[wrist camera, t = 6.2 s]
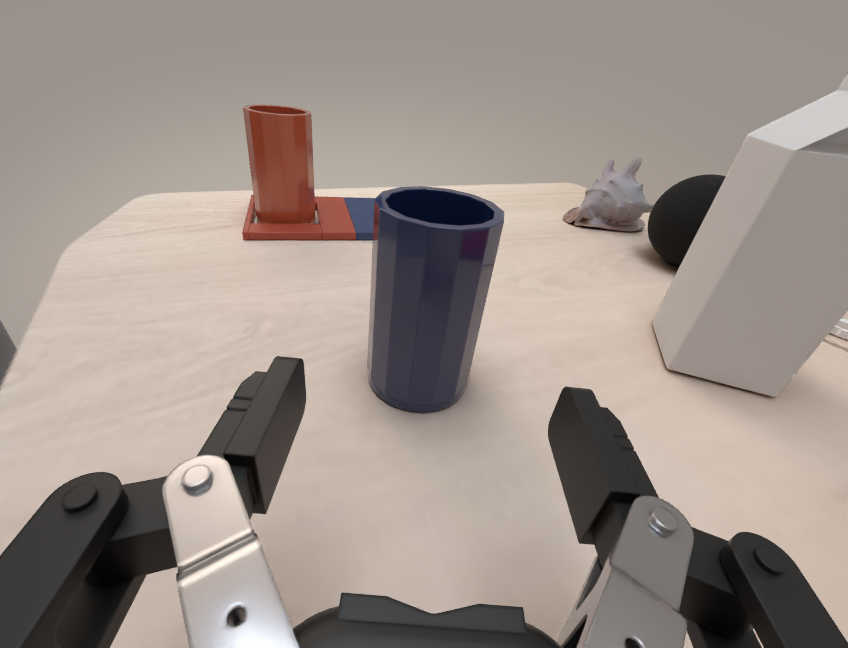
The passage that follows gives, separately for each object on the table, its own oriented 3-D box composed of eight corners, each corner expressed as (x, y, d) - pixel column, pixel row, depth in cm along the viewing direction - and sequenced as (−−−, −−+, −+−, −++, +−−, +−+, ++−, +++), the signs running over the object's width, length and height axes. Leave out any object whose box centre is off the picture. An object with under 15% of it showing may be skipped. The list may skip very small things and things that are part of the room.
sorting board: (243, 239, 39) (242, 232, 39) (252, 201, 49) (251, 194, 48) (453, 240, 46) (454, 233, 45) (425, 205, 55) (425, 199, 54)
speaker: (651, 240, 53) (687, 161, 48) (736, 270, 48) (787, 184, 42) (620, 256, 47) (657, 167, 42) (712, 292, 41) (769, 195, 36)
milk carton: (665, 371, 29) (849, 56, 18) (650, 322, 35) (783, 61, 24) (775, 400, 28) (1042, 78, 17) (740, 344, 33) (923, 78, 23)
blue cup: (377, 420, 22) (390, 228, 16) (361, 350, 27) (366, 183, 21) (480, 406, 24) (528, 230, 18) (447, 343, 29) (475, 188, 23)
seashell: (661, 234, 56) (693, 164, 51) (598, 239, 51) (627, 163, 46) (607, 210, 63) (630, 146, 58) (548, 212, 59) (568, 144, 53)
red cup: (255, 229, 42) (240, 111, 36) (258, 209, 47) (246, 102, 41) (316, 229, 44) (312, 117, 37) (313, 210, 49) (309, 108, 42)
